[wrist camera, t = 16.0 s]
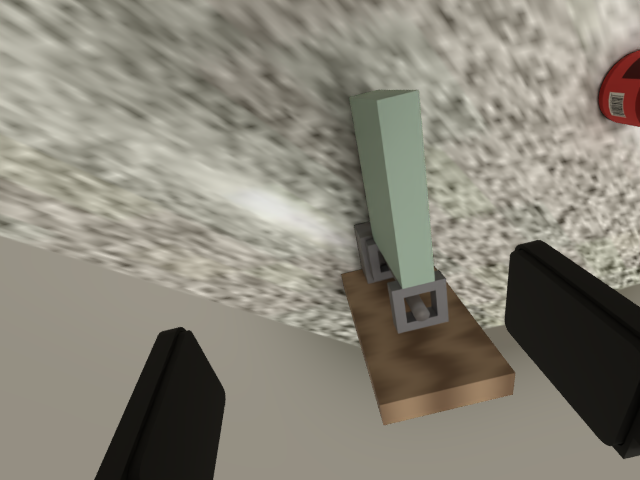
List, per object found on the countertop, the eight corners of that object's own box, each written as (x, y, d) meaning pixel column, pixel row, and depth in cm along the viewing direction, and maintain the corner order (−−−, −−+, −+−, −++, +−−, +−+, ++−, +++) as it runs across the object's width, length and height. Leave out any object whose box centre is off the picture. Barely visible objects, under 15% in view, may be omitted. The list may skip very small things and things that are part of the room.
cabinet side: (422, 208, 42) (522, 312, 25) (426, 271, 47) (512, 394, 30) (331, 231, 42) (368, 349, 25) (344, 290, 47) (383, 425, 30)
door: (388, 87, 33) (432, 86, 23) (409, 265, 42) (448, 321, 32) (339, 99, 33) (362, 103, 23) (371, 275, 42) (398, 333, 32)
